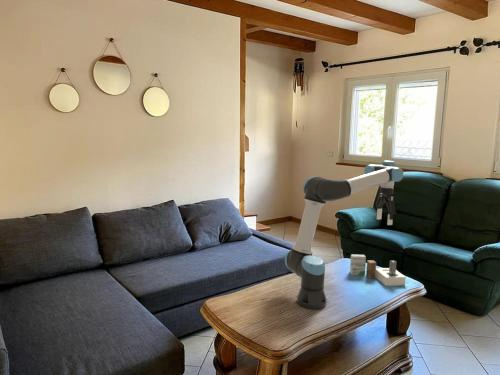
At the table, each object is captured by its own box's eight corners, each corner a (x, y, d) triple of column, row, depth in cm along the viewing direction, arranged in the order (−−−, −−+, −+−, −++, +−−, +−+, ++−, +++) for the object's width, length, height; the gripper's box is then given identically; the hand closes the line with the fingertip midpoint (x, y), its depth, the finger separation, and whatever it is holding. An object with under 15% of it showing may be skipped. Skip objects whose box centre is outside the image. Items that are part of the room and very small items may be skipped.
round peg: (390, 282, 213) (391, 262, 211) (387, 279, 217) (388, 260, 215) (396, 281, 214) (397, 262, 212) (393, 279, 217) (394, 260, 215)
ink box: (363, 272, 230) (364, 254, 228) (365, 275, 225) (366, 257, 223) (349, 271, 231) (350, 253, 229) (350, 274, 226) (352, 256, 224)
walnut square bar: (368, 278, 221) (370, 262, 219) (366, 275, 225) (367, 260, 223) (375, 278, 221) (376, 262, 220) (372, 275, 225) (373, 260, 223)
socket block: (385, 285, 210) (386, 277, 210) (374, 276, 224) (375, 268, 223) (404, 285, 212) (405, 276, 211) (392, 275, 226) (393, 267, 225)
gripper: (404, 190, 203) (400, 227, 206) (382, 183, 227) (380, 216, 231) (391, 190, 202) (388, 227, 205) (371, 183, 227) (369, 217, 230)
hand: (384, 221), depth 218 cm, fingers open, 13 cm apart
